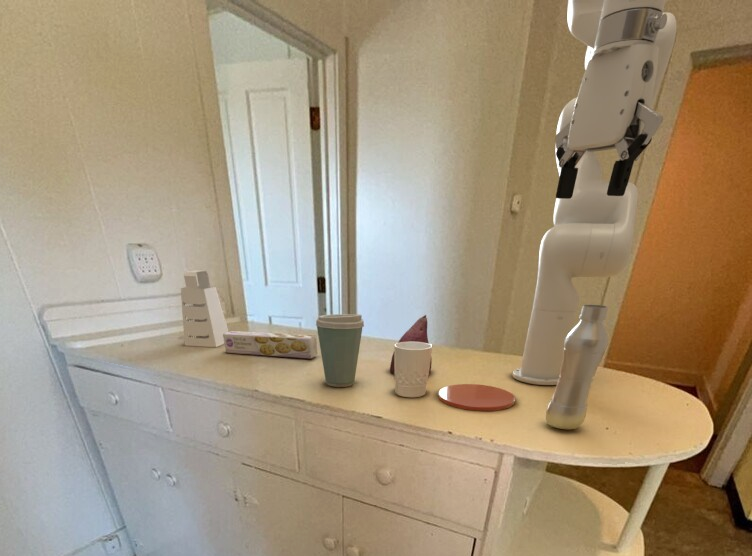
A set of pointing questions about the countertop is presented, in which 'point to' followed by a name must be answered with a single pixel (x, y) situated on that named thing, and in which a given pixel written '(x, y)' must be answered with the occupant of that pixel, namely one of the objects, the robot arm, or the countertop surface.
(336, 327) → the disposable coffee cup
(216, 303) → the grater
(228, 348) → the box
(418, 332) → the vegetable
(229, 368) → the countertop surface
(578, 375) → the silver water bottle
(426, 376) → the white cup
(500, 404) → the plate
